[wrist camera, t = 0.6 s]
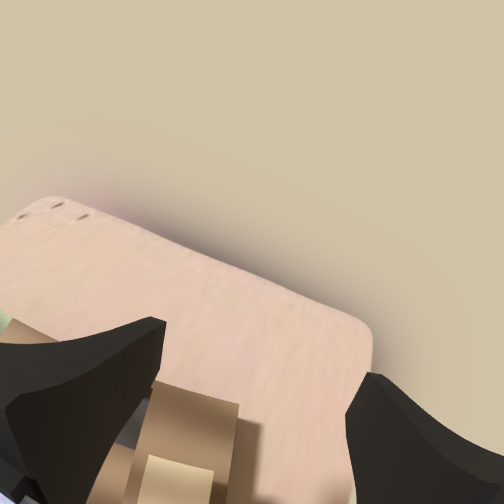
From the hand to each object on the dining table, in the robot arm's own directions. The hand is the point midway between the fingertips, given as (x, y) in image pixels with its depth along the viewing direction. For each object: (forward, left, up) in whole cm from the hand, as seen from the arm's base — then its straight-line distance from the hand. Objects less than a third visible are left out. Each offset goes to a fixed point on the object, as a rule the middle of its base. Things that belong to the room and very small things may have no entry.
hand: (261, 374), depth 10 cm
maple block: (-4, +1, -15) cm, 15 cm away
